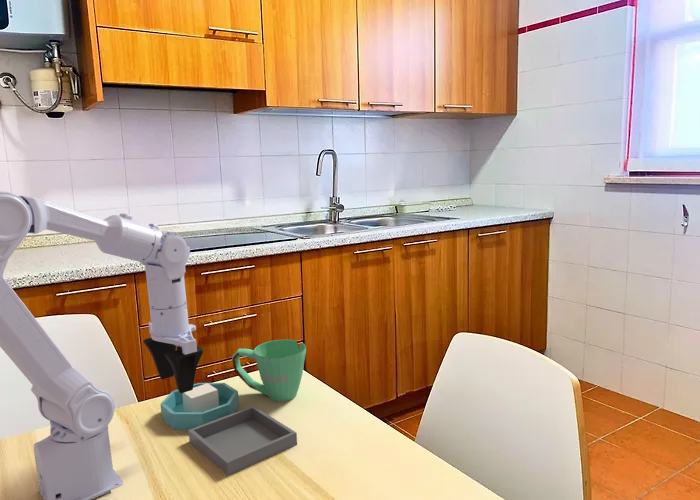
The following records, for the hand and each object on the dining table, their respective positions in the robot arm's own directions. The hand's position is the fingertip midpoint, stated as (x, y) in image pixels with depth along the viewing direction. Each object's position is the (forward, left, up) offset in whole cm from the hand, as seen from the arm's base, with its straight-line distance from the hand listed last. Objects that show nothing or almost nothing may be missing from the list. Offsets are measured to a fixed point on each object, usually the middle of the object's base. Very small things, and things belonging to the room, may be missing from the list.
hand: (176, 383), depth 91 cm
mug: (+19, +2, -10) cm, 21 cm away
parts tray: (+6, -10, -9) cm, 15 cm away
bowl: (+6, +5, -9) cm, 12 cm away
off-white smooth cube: (+6, +5, -9) cm, 12 cm away
